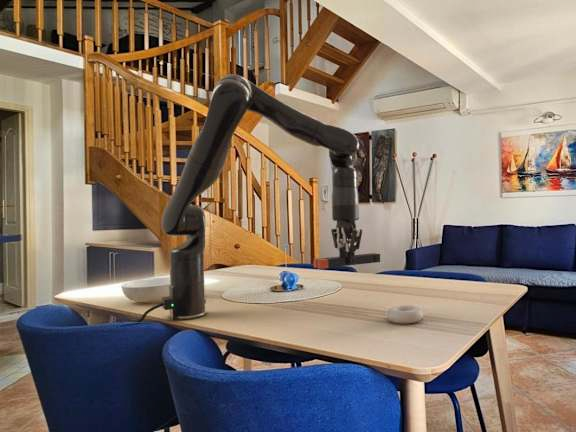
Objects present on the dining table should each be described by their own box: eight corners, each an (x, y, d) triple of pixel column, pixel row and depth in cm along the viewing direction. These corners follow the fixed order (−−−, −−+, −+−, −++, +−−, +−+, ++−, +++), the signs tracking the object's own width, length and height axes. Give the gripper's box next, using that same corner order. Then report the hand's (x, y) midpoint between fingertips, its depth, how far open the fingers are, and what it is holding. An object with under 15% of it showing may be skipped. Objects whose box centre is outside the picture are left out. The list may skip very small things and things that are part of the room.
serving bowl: (149, 294, 161) (149, 276, 161) (200, 294, 158) (200, 276, 158) (106, 306, 140) (106, 286, 140) (164, 307, 137) (163, 286, 137)
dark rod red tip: (373, 261, 126) (372, 253, 126) (381, 262, 123) (380, 254, 123) (313, 267, 115) (313, 258, 115) (320, 268, 112) (320, 259, 112)
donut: (418, 326, 108) (426, 316, 118) (417, 313, 108) (426, 304, 118) (381, 324, 112) (393, 314, 121) (381, 311, 111) (392, 302, 121)
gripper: (370, 202, 115) (371, 265, 115) (344, 204, 126) (345, 261, 127) (346, 203, 111) (348, 268, 111) (322, 204, 122) (323, 263, 122)
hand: (347, 264), depth 119 cm, fingers closed on dark rod red tip, 3 cm apart
